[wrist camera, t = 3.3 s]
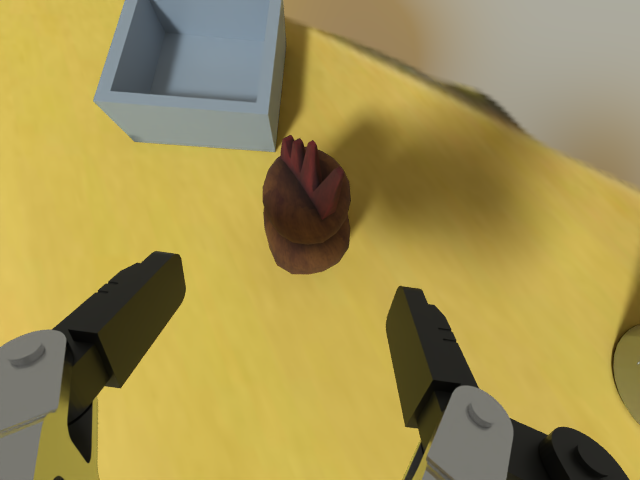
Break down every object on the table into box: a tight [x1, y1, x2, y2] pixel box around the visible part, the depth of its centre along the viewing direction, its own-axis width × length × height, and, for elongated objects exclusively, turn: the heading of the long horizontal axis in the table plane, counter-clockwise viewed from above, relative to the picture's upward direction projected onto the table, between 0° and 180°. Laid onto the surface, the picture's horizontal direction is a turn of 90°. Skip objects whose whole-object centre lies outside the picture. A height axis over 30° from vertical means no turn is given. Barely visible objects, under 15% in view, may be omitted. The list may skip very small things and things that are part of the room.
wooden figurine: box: [263, 135, 351, 274], centre depth 16 cm, size 7×6×15 cm
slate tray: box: [93, 0, 286, 152], centre depth 24 cm, size 13×13×5 cm
